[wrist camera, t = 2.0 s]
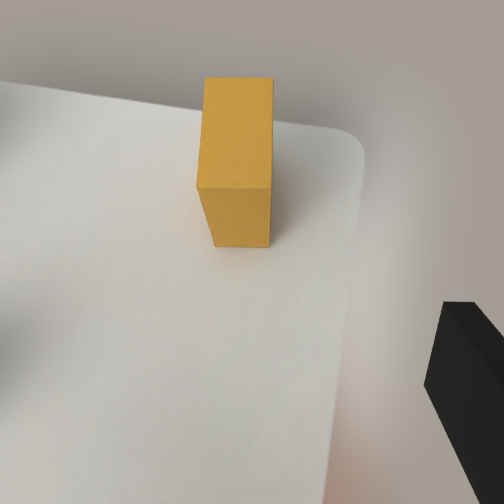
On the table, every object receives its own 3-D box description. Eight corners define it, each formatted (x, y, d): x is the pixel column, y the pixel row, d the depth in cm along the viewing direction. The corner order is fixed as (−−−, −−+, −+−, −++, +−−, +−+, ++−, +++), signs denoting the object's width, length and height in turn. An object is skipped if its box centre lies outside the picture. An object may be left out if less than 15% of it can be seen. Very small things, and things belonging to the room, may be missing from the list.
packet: (270, 161, 36) (273, 77, 26) (269, 247, 33) (271, 188, 24) (220, 160, 36) (205, 76, 27) (215, 246, 33) (196, 187, 24)
